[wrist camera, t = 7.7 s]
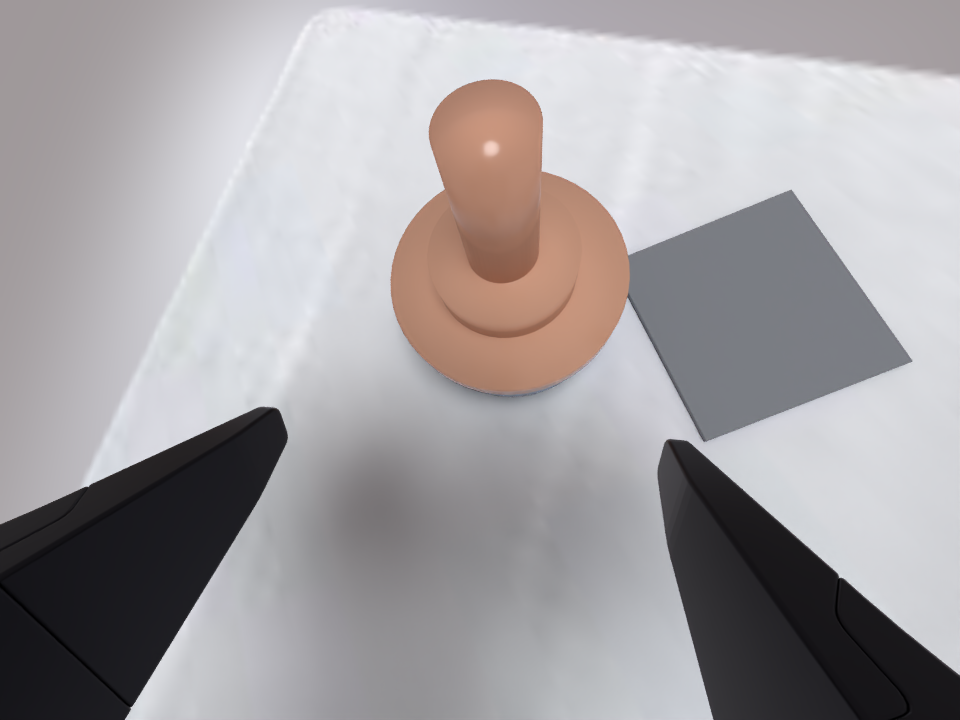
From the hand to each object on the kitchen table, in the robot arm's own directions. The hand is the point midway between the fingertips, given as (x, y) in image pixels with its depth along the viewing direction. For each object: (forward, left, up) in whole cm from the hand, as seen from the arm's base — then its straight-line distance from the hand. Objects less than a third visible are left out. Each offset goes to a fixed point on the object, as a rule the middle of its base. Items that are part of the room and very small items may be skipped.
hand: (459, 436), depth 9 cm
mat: (+15, +2, -13) cm, 21 cm away
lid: (+3, +7, -9) cm, 12 cm away
